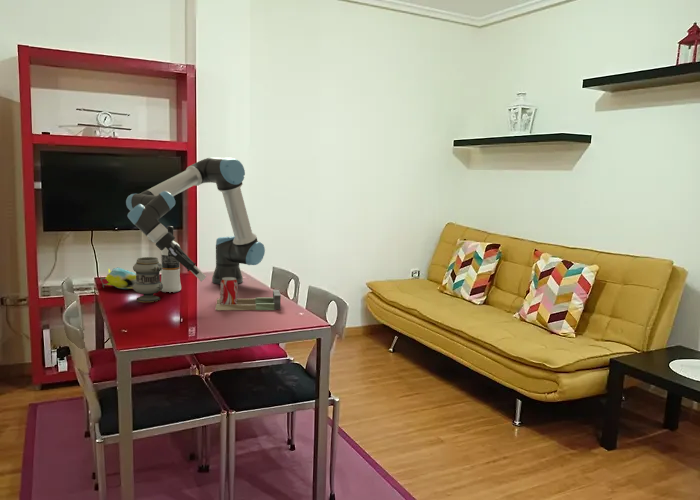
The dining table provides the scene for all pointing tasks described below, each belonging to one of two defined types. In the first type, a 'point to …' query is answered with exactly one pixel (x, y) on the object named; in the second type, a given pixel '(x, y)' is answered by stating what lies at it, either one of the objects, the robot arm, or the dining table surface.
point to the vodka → (170, 269)
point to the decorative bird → (120, 278)
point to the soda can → (228, 290)
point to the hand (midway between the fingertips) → (203, 278)
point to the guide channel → (253, 303)
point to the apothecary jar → (147, 278)
